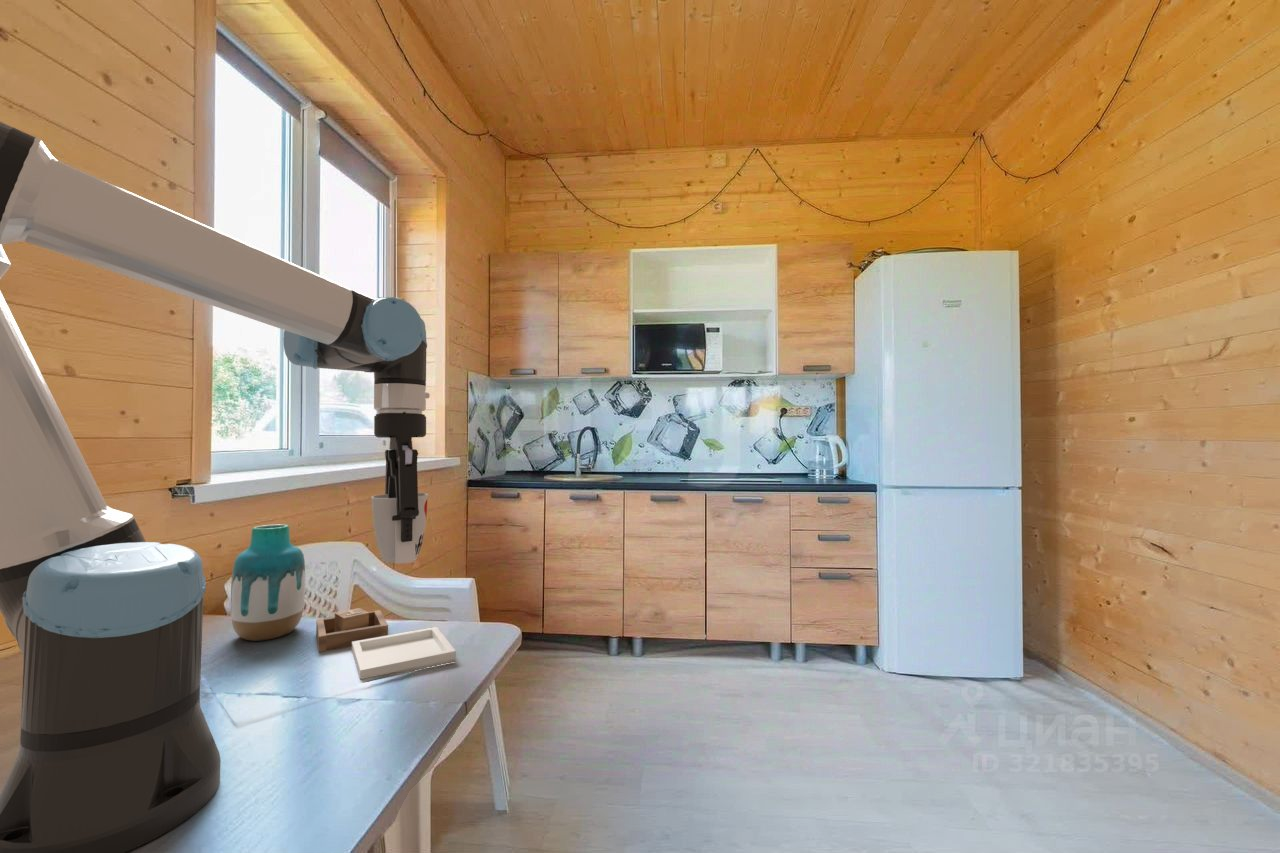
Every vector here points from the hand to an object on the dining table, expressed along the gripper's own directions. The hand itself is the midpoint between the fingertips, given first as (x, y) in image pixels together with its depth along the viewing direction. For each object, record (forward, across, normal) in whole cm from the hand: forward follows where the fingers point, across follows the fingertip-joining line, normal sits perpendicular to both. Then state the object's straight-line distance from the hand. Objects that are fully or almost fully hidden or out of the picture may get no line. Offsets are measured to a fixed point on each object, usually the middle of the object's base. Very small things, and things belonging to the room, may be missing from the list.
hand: (400, 557), depth 84 cm
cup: (0, 0, 0) cm, 0 cm away
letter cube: (+15, +13, +6) cm, 21 cm away
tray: (+16, 0, 0) cm, 16 cm away
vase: (+16, +22, +18) cm, 32 cm away
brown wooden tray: (+16, +13, +6) cm, 21 cm away
